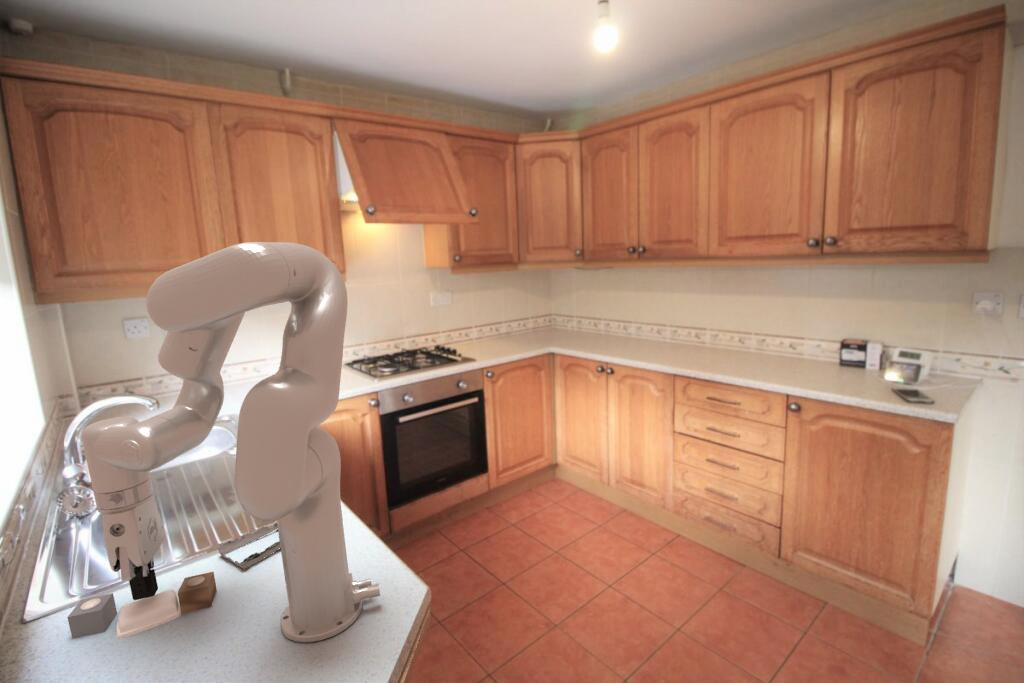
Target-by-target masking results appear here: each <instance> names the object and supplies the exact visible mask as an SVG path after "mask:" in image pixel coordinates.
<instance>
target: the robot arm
mask: <svg viewBox="0 0 1024 683" xmlns="http://www.w3.org/2000/svg"><path fill="white" fill-rule="evenodd" d="M287 302H288V303H289V302H290V305H291V308H290V313H289V315H288V318H287V320H286V324H285V326H284V330H283V333H282V334H283V335H282V344H281V345H282V348H281V356H280V357H281V358H280V363H279V366H278V371H276V372H275V373H274V374H272V375H269V376H268V377H265V378H264V379H262V380H259V382H257V383H256V384H255V385H253V387H251V389H250V390H249V391H248V392H247V394H246V395H245V398H244V399H243V401H242V404H241V407H240V409H239V414H238V422H237V423H238V424H237V435H236V436H237V437H236V448H235V449H236V450H235V465H234V466H235V467H234V487H235V489H234V490H235V495H236V498H237V500H238V502H239V505H240V506H241V508H242V510H244V511H245V512H246V513H247V514H248V515H249V516H251V517H253V518H254V519H256V520H259V521H263V522H264V521H265V522H272V521H276V523H277V524H278V531H277V533H278V538H279V539H278V540H279V541H280V547H281V549H280V552H281V553H280V554H281V561H282V566H283V567H282V568H283V574H284V582H285V589H286V594H287V595H286V596H287V602H288V606H287V607H286V608H285V609H284V611H283V612H282V614H281V617H280V622H279V623H280V629H281V632H282V634H283V635H284V636H285V637H286V638H287V639H289V640H291V641H293V642H294V641H295V642H298V643H314V642H319V641H323V640H326V639H330V638H331V637H333V636H336V635H338V634H340V633H341V632H343V631H345V630H346V629H348V628H349V627H351V625H352V624H353V623H354V622H355V621H357V619H358V617H359V616H360V614H361V612H362V610H363V600H366V599H373V598H378V597H380V596H381V593H380V592H381V590H380V584H379V583H374V584H372V579H371V578H366V579H363V580H360V581H357V580H354V579H353V573H352V572H350V570H349V563H348V561H349V560H348V554H347V547H346V546H347V545H346V538H345V530H344V523H343V521H344V520H343V512H342V511H343V510H342V501H341V469H342V468H341V467H342V466H341V465H342V464H341V462H342V461H341V453H340V452H341V451H340V448H339V445H338V442H337V441H336V439H335V438H334V436H332V435H331V433H329V432H328V431H327V430H325V429H323V428H320V427H319V426H320V425H321V424H323V423H324V422H326V420H327V419H328V418H330V417H331V416H332V415H333V413H334V412H335V411H336V409H337V406H338V403H339V399H340V398H339V397H340V387H341V376H342V369H343V356H344V342H345V332H346V324H347V316H348V305H349V304H348V291H347V287H346V283H345V281H344V277H343V275H342V274H341V272H340V271H339V269H338V267H337V266H336V264H334V262H333V261H332V260H331V259H329V257H327V256H326V255H325V254H323V253H322V252H320V251H319V250H318V249H315V248H313V247H311V246H309V245H305V244H302V243H301V244H300V243H297V242H288V241H287V242H283V241H282V242H281V241H277V242H272V241H270V242H269V241H268V242H267V241H248V242H247V241H246V242H242V243H241V242H240V243H237V244H232V245H230V246H227V247H224V248H222V249H220V250H217V251H215V252H212V253H210V254H207V255H204V256H202V257H199V258H197V259H195V260H191V261H190V262H188V263H185V264H181V265H180V266H177V267H175V268H174V267H173V268H172V269H170V270H168V271H165V272H164V273H162V274H161V275H160V276H158V277H157V278H156V279H155V280H154V281H153V283H151V286H150V287H149V290H148V292H147V295H146V310H147V313H148V315H149V318H150V319H151V321H152V322H153V323H154V324H155V325H156V326H157V328H158V327H159V328H160V329H162V330H164V331H166V335H165V337H164V339H163V342H162V344H161V346H160V349H159V352H158V355H157V359H158V360H157V361H158V364H159V365H160V367H161V368H162V369H163V370H164V371H165V372H167V373H169V374H171V375H172V376H174V377H177V378H179V379H180V380H183V382H182V386H181V388H180V391H179V394H178V395H177V396H178V397H177V399H176V401H175V403H174V405H173V407H172V408H170V409H168V410H165V411H163V412H161V413H158V414H156V415H154V416H151V417H149V418H147V419H144V420H142V421H139V420H138V419H137V418H135V417H134V416H133V417H132V416H117V417H112V418H111V417H110V418H106V419H101V420H99V421H96V422H92V423H90V424H89V425H87V426H86V427H85V428H83V430H82V433H81V441H82V446H83V450H84V455H85V460H86V464H87V468H88V473H89V477H90V482H91V487H92V491H93V496H94V501H95V506H96V509H97V510H96V511H97V512H98V513H101V514H102V527H103V537H104V544H105V550H106V555H107V560H108V564H109V566H110V569H111V570H112V572H114V573H115V572H116V573H117V572H119V571H120V578H121V581H122V582H123V581H128V583H129V588H130V592H131V597H132V599H133V601H139V600H141V599H144V598H148V597H152V596H154V595H156V594H157V591H158V590H159V585H158V582H157V581H158V580H157V576H156V570H155V568H154V567H155V561H154V556H155V554H156V553H157V551H159V548H160V547H161V546H162V544H163V543H164V541H165V540H164V539H165V531H164V528H163V523H162V518H161V516H160V511H159V508H158V505H157V502H156V498H155V491H154V486H153V481H152V477H151V472H150V471H153V470H157V469H158V468H159V469H160V468H161V467H162V466H165V465H166V464H168V463H170V462H172V461H173V460H175V459H177V458H178V457H180V456H182V455H184V454H185V453H187V452H189V451H191V450H193V449H195V448H196V447H198V446H200V445H201V444H202V443H204V441H206V438H208V436H209V435H210V434H211V431H212V430H213V428H214V426H215V423H216V421H217V419H218V416H219V415H220V412H221V410H222V407H223V405H224V399H225V390H224V389H225V387H224V381H223V377H222V375H221V372H222V371H221V370H222V368H223V366H224V363H225V361H226V358H227V356H228V354H229V351H230V348H231V347H232V344H233V342H234V339H235V337H236V335H237V332H238V330H239V328H240V325H241V323H242V321H243V318H244V316H245V314H246V312H249V311H253V310H255V309H259V308H263V307H266V306H271V305H277V304H283V303H287ZM279 541H278V542H279Z"/></svg>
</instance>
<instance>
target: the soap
mask: <svg viewBox="0 0 1024 683" xmlns="http://www.w3.org/2000/svg"><path fill="white" fill-rule="evenodd" d="M180 616H182V614H181V609H180V603H179V598H178V594H177V591H175V589H168V590H166V591H165V590H164V591H162V592H158V593H156V594H155V595H154V596H152V597H148V598H143V599H139V600H135V601H133V602H132V603H129V604H126V605H123V606H121V608H120V610H119V613H118V619H117V620H116V621H117V622H116V627H115V628H116V629H115V631H116V636H117V639H118V640H122V639H125V638H128V637H130V636H134V635H136V634H140V633H142V632H145V631H147V630H150V629H154V628H155V627H159V626H161V625H163V624H165V623H168V622H170V621H173V620H175V619H177V618H179V617H180Z"/></svg>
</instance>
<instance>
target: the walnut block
mask: <svg viewBox="0 0 1024 683" xmlns="http://www.w3.org/2000/svg"><path fill="white" fill-rule="evenodd" d="M216 583H217V582H216V578H215V572H214V571H213V570H212V571H209V572H206V573H200V574H196V575H191V576H187V577H184V578H183V581H182V583H181V585H180V587H179V590H178V591H177V595H178V598H179V603H180V609H181V615H183V614H186V613H187V614H188V613H191V612H195V611H199V610H204V609H207V608H208V609H209V608H212V606H213V604H214V601H215V598H216V595H217V592H218V588H217V585H216Z"/></svg>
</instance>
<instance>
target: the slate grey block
mask: <svg viewBox="0 0 1024 683" xmlns="http://www.w3.org/2000/svg"><path fill="white" fill-rule="evenodd" d="M117 614H118V610H117V607H116V600H115V597H114V593H113V592H112V593H108V594H102V595H97V596H93V597H87V598H83V599H81V600H79V602H78V603H77V604H76V606H75V607H74V608H73V610H72V611H71V612H70V613H69V615H68V616H67V622H68V626H69V631H70V634H71V639H72V640H73V639H77V638H82V637H88V636H92V635H96V634H100V633H106V632H107V630H108V628H109V627H110V625H112V623H113V621H114V620H115V617H116V616H117Z"/></svg>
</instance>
